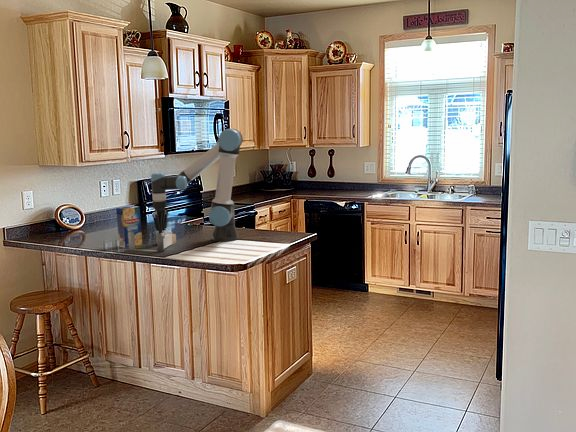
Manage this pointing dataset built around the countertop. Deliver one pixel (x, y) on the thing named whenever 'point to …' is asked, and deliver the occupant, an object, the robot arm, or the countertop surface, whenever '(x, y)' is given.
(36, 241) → the countertop surface
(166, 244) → the white upright plank
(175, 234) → the oak block
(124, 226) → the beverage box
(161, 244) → the posts
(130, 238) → the latch post
